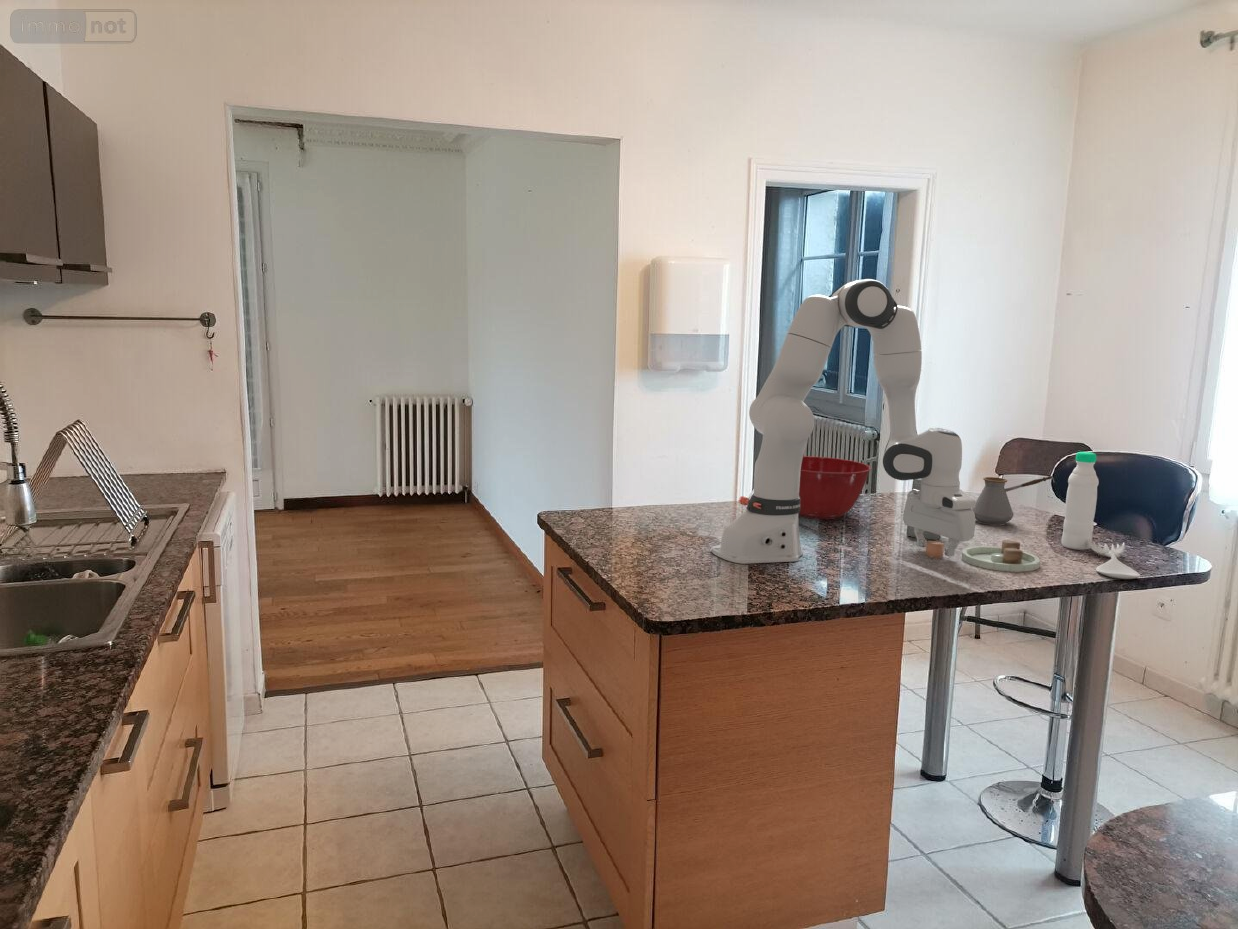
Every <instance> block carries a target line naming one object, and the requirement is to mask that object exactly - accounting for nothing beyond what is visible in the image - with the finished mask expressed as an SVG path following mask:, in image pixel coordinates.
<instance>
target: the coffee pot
mask: <svg viewBox="0 0 1238 929" xmlns="http://www.w3.org/2000/svg"><path fill="white" fill-rule="evenodd" d="M982 480H983V481H984V484H985V485H984V487H983V489H982V490H981V493H980V494H979V496H978V497H977V499H976V500H975V501H976V506H975V508H972V510H973V511H974V514H975V521H976V522H977V521H978V522H977V523H979V522H980V524H982V523H983V525H988V526H1004V525H1006V523H1008V522H1010V521H1011V520H1012V519H1013V517H1014V511H1013V509H1012V505H1011V503H1010V500H1009V497H1008V494H1007V492H1010V491H1013V490H1017V489H1020V488H1024V487H1029V486H1032V485H1036V484H1039V483H1042V482H1046V481H1047V480H1052V481H1053V483H1054V484H1055V479H1054V476H1053V475H1050V476H1047V477H1045V476H1043V477H1042V478H1038V479H1037V478H1036V479H1033V480H1030V481H1028V482H1024V483H1021V484H1017V485H1014V486H1010V487H1007V488H1005V485H1006V483H1007V482H1008V479H1005V478H1002V477H993V476H992V477H989V476H987V477H986V476H985V477H983V478H982Z"/></svg>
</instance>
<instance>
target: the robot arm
mask: <svg viewBox="0 0 1238 929" xmlns="http://www.w3.org/2000/svg"><path fill="white" fill-rule="evenodd" d="M843 327H854V328H866V329H867V331H868V332H869V334H870V336H871V339H872V345H873V347H872V350H873V353H872V354H873V364H874V370H875V375H876V378H877V381H878V384H879V386H880V388H882V391H883V392H884V394H885V397H886V400H887V405H888V417H889V429H890V430H889V438H888V440H887V443H886V445H885V449H884V454H883V458H882V466H883V469H884V471H885V473H886V474H887V475H888V476H890V478H893V479H894V480H898V481H911V480H912V481H913V479H920V478H921V491H918V490H916V489H913V490H912V489H911V490H909V492H908V493H907V496H906V501H905V505H904V509H903V515H902V516H903V517H902V521H903V523H904V525H906V526H907V525H908V526H911V527H914V533H915V536H916V537H915V539H916V546H917V547H919V548H926V543H927V542H928V541H927V540H928V539H924V535H923V532H924V531H928V532H931V533H934V534H937V535H940V537H945V538H947V539H948V543H949V545H948V546H947V547H944V552H943V555H945V556H947V557H954V556H955V552H956V551H955V550H956V548H957V547H958V546H959V544H960V542H961V543H962V542H971V541H972V540H973V538H974V536H975V533H976V532H975V531H976V529H975V528H976V519H975V514H974V511H973V510H972V508H975V506H976V501H977V500H975V499H974V498H973V497H971V496H970V495H968V494H967V492H964V491H963V490H962V489H960V487H961V482H960V471H961V469H962V462H963V461H962V460H963V443H962V439H961V437H960V436H959V435H958V434H957V433H956V432H954V431H952V430H949V429H946V428H941V427H929V428H928V429H927V430H925V431H924V432H921V433H920V434H918V431H917V420H916V408H915V407H916V404H915V400H916V399H915V398H916V392H917V388H918V387H919V386H918V385H919V382H920V380H921V378H920V377H921V374H922V373H921V372H922V364H923V363H922V360H923V359H922V355H923V353H922V343H921V341H922V340H921V335H920V330H919V324H918V321H917V317H916V313H915V312H914V311H913V310H912V309H911V308H909V307H906V306H903V305H898V304H897V302H896V300H895V299H894V297H893V296H892V293H891V291H890V290H889V288H888V287H887V286H886V285H885V284H884V283H883V282H881V281H879V280H877V279H872V278H865V279H855V280H851V281H849V282H847V283H844V284H842V285H840V286H838V287H837V288H836V289H835V290H834V291H833V292H832V293H831V294H830V295H829V296H826V295H823V294H813V295H809V296H808V297H806V298H804V300H803V301H802V302H801V304H800V306H799V308H798V309H797V311H796V313H795V315H794V316H793V318H792V321H791V323H790V326H789V327H788V331H787V333H786V335H785V337H784V339H783V340H784V341H783V343H782V347H781V349H780V352H779V354H778V357H777V360H776V361H775V364H774V366H773V368H772V370H771V372H770V373H769V375H768V377H767V379H766V380H765V381H764V384H763V386H762V388H761V389H760V391H759V394H758V395H757V396H756V397H755V398H754V399H753V401H752V402H751V404H750V406H749V410H748V411H749V412H748V413H749V414H748V416H749V420H750V422H751V424H752V426H753V427H754V429H755V430H756V431H757V432H758V433H759V434H761V435H762V441H761V446H760V450H759V453H758V456H757V458H756V460H755V464H754V475H753V477H754V478H753V493H752V494H751V496H750V498H748V497H746V496H744V495H742V496H739V498H738V503H739V504H740V505H743V506H746V510H745V511H743V512H742V513H741V514H740V515H739V516H738V517H736V518H735V519H734V520H732V521H731V522H730V523H729V524H727V525H726V526H725V527H724V530H723V532H722V536H721V542H720V544H718V545H713V546H712V547H711V553H713V554H714V556H717V557H719V558H720V559H723V560H726V561H728V562H731V563H732V562H733V563H737V564H743V565H745V564H746V565H747V564H762V563H763V564H765V563H784V562H785V563H786V562H787V563H788V562H798V561H799V558H800V557H802V555H803V554H804V553H803V549H802V544H801V539H800V529H799V527H800V526H799V517H800V516H799V513H800V502H801V498H800V497H799V488H800V473H801V464H802V459H803V456H804V454H805V453H806V452H805V451H806V448H807V444H808V439H809V437H810V435H812V432H813V431H814V428H815V416H814V413H813V411H812V410H811V409H810V407H809V406H808V405H807V403H805V400H806V398H807V396H808V395H809V394H810V391H812V388H813V387H814V386H815V385H816V384H817V383H818V382H819V380H820V379H821V376H822V374H823V372H824V368H825V366H826V363H827V360H828V359H829V355H830V353H831V350H832V348H833V345H834V341H835V339H836V336H837V335H838V333H839V332H840V331H841V329H842V328H843ZM911 492H912V493H911Z"/></svg>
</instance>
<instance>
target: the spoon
mask: <svg viewBox="0 0 1238 929" xmlns="http://www.w3.org/2000/svg"><path fill="white" fill-rule="evenodd" d="M1087 543H1088V545H1089V546H1090V547H1091V548H1090V549H1091V550H1092V551H1094V552H1095V553H1096V554H1098V555H1100V556H1102V557H1108V558H1110V559H1109V560H1107V561H1106V562H1104V563H1102V564H1099V565H1097V567H1095V570H1096V572H1098V573H1100V574H1101V575H1103V576H1106V577H1109V578H1114V579H1118V580H1119V579H1120V580H1133V579H1137V578H1140V577H1141V576H1142V575H1141V574H1140V573H1139V572H1138V571H1136V570H1135V569H1134V568H1131V567H1129V566H1128V565H1126V564H1125V563H1123V562H1121V561H1120V560H1119V559H1118V558H1120V557H1121V555H1122V554H1123V553H1124V551H1125V549H1126V543H1125V542H1123V543H1122V544H1121V546H1120V545H1119V543H1117V544H1116V548H1115V545H1114V544H1113V543H1112V544H1111V549H1110V548H1109V545H1108V544H1107V543H1104V545H1103V548H1102V546H1101V544H1100V542H1098V543H1097V544H1096V542H1095V541H1094V540H1092V543H1091V542H1090V540H1089V539H1087Z"/></svg>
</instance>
